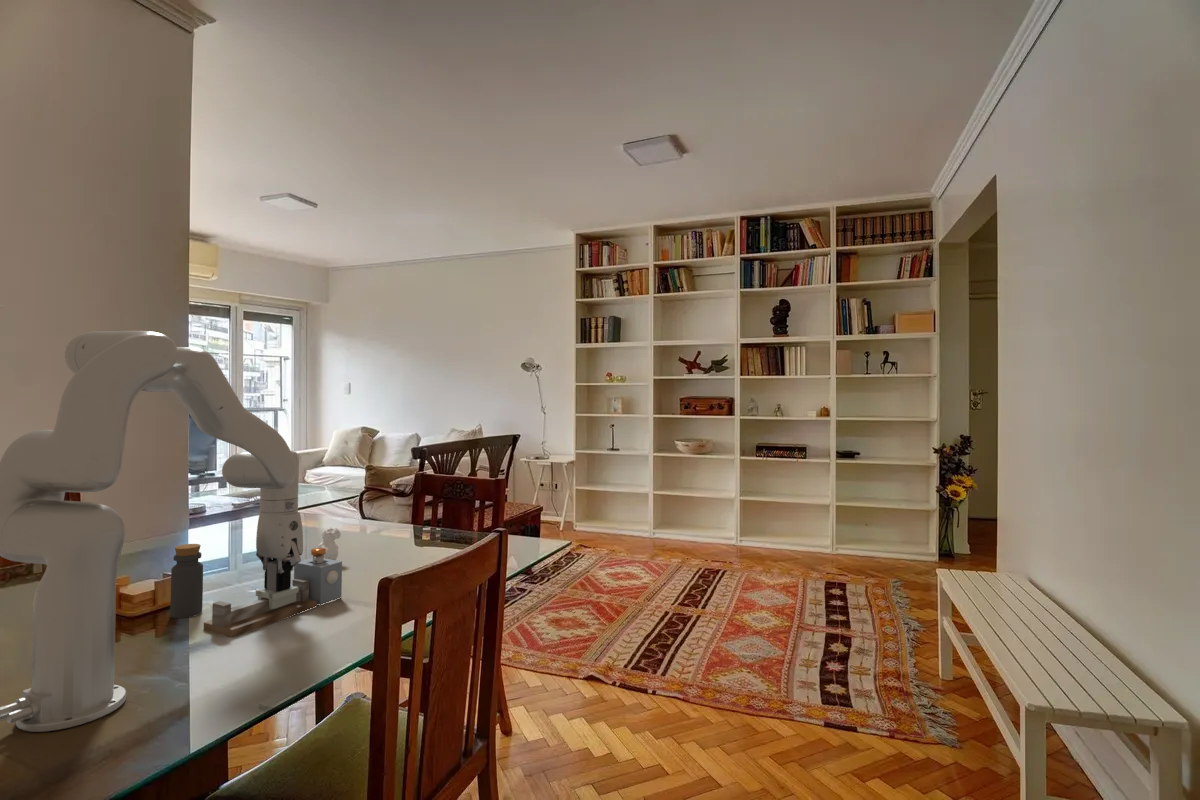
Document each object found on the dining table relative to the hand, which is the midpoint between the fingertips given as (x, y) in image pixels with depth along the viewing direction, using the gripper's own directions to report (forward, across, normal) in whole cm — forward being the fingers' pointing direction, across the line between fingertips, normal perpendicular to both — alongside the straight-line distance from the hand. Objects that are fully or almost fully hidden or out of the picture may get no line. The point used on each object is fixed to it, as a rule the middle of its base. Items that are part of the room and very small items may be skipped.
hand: (277, 587), depth 135 cm
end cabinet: (+6, 0, -11) cm, 12 cm away
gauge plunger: (-1, 0, -11) cm, 11 cm away
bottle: (+6, +17, +9) cm, 20 cm away
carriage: (+4, 0, 0) cm, 4 cm away
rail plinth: (+6, 0, +3) cm, 7 cm away
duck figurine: (+6, +25, -35) cm, 43 cm away
